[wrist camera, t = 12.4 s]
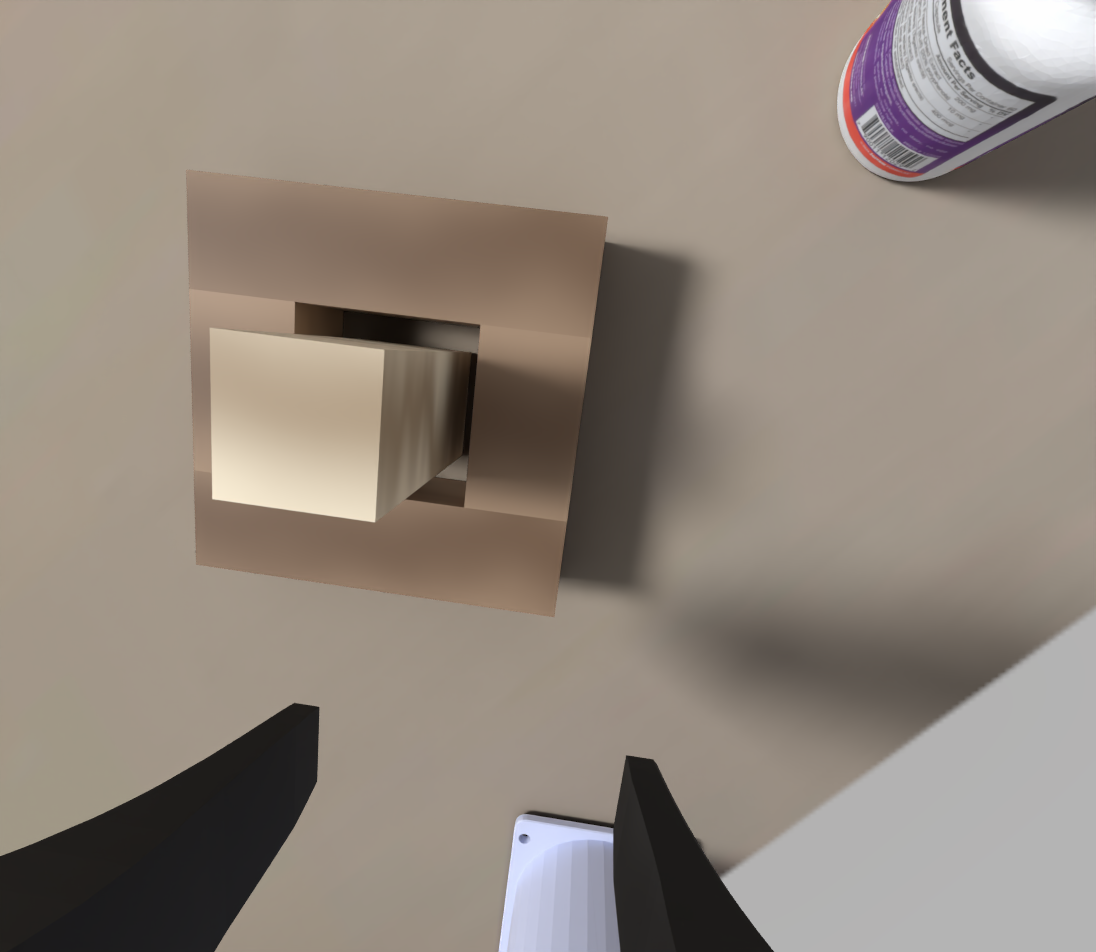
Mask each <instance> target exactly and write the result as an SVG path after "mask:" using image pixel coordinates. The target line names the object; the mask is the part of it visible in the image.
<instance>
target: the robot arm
mask: <svg viewBox="0 0 1096 952" xmlns="http://www.w3.org/2000/svg"><path fill="white" fill-rule="evenodd" d="M318 734H319V707H316V706H310V705H303V704H297V703H294V704H292V705H290V706H288V707H287V708H285V709H284V710H282V711H280V712H279V713H277V714H276V715H274V716H272V717H271V718H269V719H268V720H266V721H265V722H263V723H262V724H260V725H258V726H257V727H255V728H254V729H252V730H251V731H249V732H248V733H246V734H244V735H243V736H241V737H240V738H238V739H236V740H235V741H233V742H232V743H230V744H228V745H227V746H225V747H224V748H222V749H220V750H219V751H217V752H216V753H214V754H212V755H211V756H209V757H207V758H206V759H204V760H202V761H201V762H199V763H197V764H195V765H194V766H192V767H190V768H188V769H187V770H185V771H183V772H181V773H180V774H178V775H176V776H174V777H173V778H171V779H169V780H167V781H166V782H164V783H162V784H161V785H159V786H157V787H155V788H153V789H151V790H149V791H147V792H145V793H144V794H142V795H140V796H138V797H136V798H134V799H132V800H130V801H128V802H126V803H124V804H122V805H120V806H118V807H115V808H113V809H111V810H109V811H107V812H105V813H103V814H101V815H99V816H97V817H95V818H92V819H90V820H88V821H85V822H83V823H81V824H78V825H76V826H74V827H71V828H69V829H67V830H64V831H62V832H60V833H57V834H55V835H53V836H50V837H48V838H46V839H43V840H41V841H39V842H36V843H34V844H31V845H29V846H26V847H24V848H21V849H19V850H16V851H13V852H11V853H8V854H5V855H3V856H0V952H214V951H215V950H216V948H217V946H218V945H219V943H220V941H221V940H222V938H223V936H224V935H225V933H226V931H227V930H228V928H229V927H230V925H231V924H232V922H233V921H234V919H235V918H236V916H237V915H238V913H239V912H240V910H241V908H242V907H243V905H244V904H245V902H246V901H247V899H248V898H249V896H250V895H251V893H252V892H253V890H254V889H255V887H256V885H257V884H258V882H259V881H260V879H261V878H262V876H263V875H264V873H265V872H266V870H267V869H268V867H269V866H270V864H271V862H272V861H273V859H274V858H275V856H276V855H277V853H278V852H279V850H280V848H281V847H282V845H283V844H284V842H285V841H286V839H287V838H288V836H289V834H290V833H291V831H292V830H293V828H294V826H295V824H296V822H297V821H298V819H299V817H300V815H301V813H302V811H303V809H304V807H305V805H306V803H307V801H308V799H309V797H310V795H311V793H312V791H313V789H314V787H315V784H316V782H317V767H318ZM521 834H526V835H528V836H523V835H521ZM499 952H774V951H773V950H772V949H771V947H770V946H769V945H768V944H767V942H766V941H765V940H764V939H763V937H762V936H761V935H760V934H759V932H758V931H757V930H756V928H755V927H754V926H753V924H752V923H751V922H750V920H749V919H748V918H747V916H746V915H745V914H744V912H743V911H742V910H741V908H740V907H739V905H738V904H737V903H736V901H735V900H734V898H733V897H732V895H731V894H730V893H729V891H728V890H727V888H726V887H725V885H724V884H723V882H722V881H721V879H720V877H719V876H718V874H717V873H716V871H715V870H714V868H713V867H712V865H711V864H710V862H709V860H708V859H707V857H706V855H705V854H704V852H703V851H702V849H701V847H700V846H699V844H698V842H697V840H696V839H695V837H694V835H693V833H692V832H691V830H690V828H689V827H688V825H687V823H686V821H685V819H684V818H683V816H682V814H681V812H680V810H679V808H678V806H677V805H676V803H675V801H674V799H673V797H672V795H671V793H670V791H669V789H668V787H667V785H666V783H665V781H664V779H663V777H662V774H661V772H660V770H659V768H658V766H657V764H656V763H655V761H654V760H653V759H646V758H640V757H634V756H627V755H626V760H625V766H624V772H623V777H622V783H621V788H620V794H619V800H618V805H617V811H616V817H615V822H614V828H609V827H603V826H597V825H591V824H584V823H578V822H572V821H566V820H560V819H554V818H548V817H542V816H536V815H530V814H523V815H520V816H519V817H518V818H517V819H516V822H515V829H514V837H513V844H512V852H511V860H510V868H509V875H508V883H507V891H506V899H505V906H504V914H503V922H502V930H501V937H500V945H499Z"/></svg>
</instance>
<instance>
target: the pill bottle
mask: <svg viewBox="0 0 1096 952" xmlns="http://www.w3.org/2000/svg"><path fill="white" fill-rule="evenodd" d="M1095 97H1096V0H891V2H890V3H889V4H888V5H887V6H886V8H885V9H884V10H883V11H882V12H881V13H880V15H879V16H878V17H877V18H876V19H875V20H874V21H873V23H872V24H871V25H870V27H869V28H868V29H867V31H866V32H865V33H864V34H863V36H862V37H861V38H860V40H859V41H858V43H857V44H856V46H855V47H854V49H853V51H852V53H851V54H850V56H849V58H848V61H847V63H846V65H845V68H844V70H843V73H842V76H841V80H840V84H839V90H838V98H837V113H838V121H839V126H840V130H841V133H842V136H843V139H844V141H845V143H846V145H847V147H848V148H849V150H850V152H851V153H852V154H853V156H854V157H855V158H856V159H857V160H858V161H859V162H860V163H861V164H862V165H863V166H864V167H865V168H867V169H868V170H869V171H871V172H873V173H875V174H877V175H879V176H881V177H884V178H887V179H891V180H897V181H907V182H909V181H922V180H927V179H931V178H935V177H938V176H941V175H943V174H946V173H948V172H950V171H953V170H955V169H957V168H960V167H962V166H964V165H966V164H968V163H970V162H972V161H974V160H976V159H977V158H980V157H982V156H983V155H985V154H987V153H989V152H991V151H993V150H995V149H997V148H999V147H1000V146H1002V145H1004V144H1006V143H1008V142H1010V141H1012V140H1014V139H1016V138H1018V137H1020V136H1022V135H1023V134H1025V133H1027V132H1029V131H1031V130H1033V129H1035V128H1037V127H1039V126H1041V125H1043V124H1045V123H1047V122H1049V121H1050V120H1052V119H1054V118H1056V117H1058V116H1060V115H1062V114H1064V113H1066V112H1068V111H1070V110H1072V109H1074V108H1076V107H1078V106H1080V105H1082V104H1083V103H1085V102H1087V101H1089V100H1091V99H1093V98H1095Z"/></svg>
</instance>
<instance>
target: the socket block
mask: <svg viewBox="0 0 1096 952" xmlns="http://www.w3.org/2000/svg"><path fill="white" fill-rule="evenodd" d="M186 182H187V221H188V260H189V300H190V339H191V378H192V417H193V457H194V496H195V535H196V565H203V566H209V567H216V568H223V569H230V570H237V571H244V572H250V573H257V574H264V575H271V576H278V577H284V578H291V579H298V580H305V581H312V582H319V583H325V584H332V585H339V586H346V587H353V588H359V589H366V590H373V591H380V592H387V593H394V594H400V595H407V596H414V597H421V598H428V599H434V600H441V601H448V602H455V603H462V604H469V605H475V606H482V607H489V608H496V609H503V610H509V611H516V612H523V613H530V614H537V615H544V616H550V617H554V615H555V607H556V600H557V592H558V585H559V578H560V570H561V563H562V555H563V548H564V541H565V533H566V526H567V518H568V511H569V503H570V496H571V489H572V481H573V474H574V466H575V459H576V451H577V444H578V437H579V429H580V422H581V414H582V407H583V399H584V392H585V385H586V377H587V370H588V362H589V355H590V347H591V340H592V332H593V325H594V318H595V310H596V303H597V295H598V288H599V280H600V273H601V266H602V258H603V251H604V243H605V236H606V228H607V221H608V217H604V216H595V215H586V214H578V213H569V212H560V211H551V210H542V209H533V208H524V207H515V206H506V205H497V204H488V203H479V202H470V201H461V200H452V199H443V198H434V197H426V196H417V195H408V194H399V193H390V192H381V191H372V190H363V189H354V188H345V187H336V186H327V185H318V184H309V183H300V182H291V181H283V180H274V179H265V178H256V177H247V176H238V175H229V174H220V173H211V172H202V171H193V170H186ZM343 311H349V312H357V313H366V314H374V315H382V316H390V317H398V318H406V319H415V320H423V321H431V322H439V323H447V324H455V325H463V326H472V327H480V336H479V347H478V359H477V370H476V381H475V392H474V403H473V414H472V425H471V437H470V448H469V459H468V470H467V481H459V480H451V479H444V478H437V477H433V478H432V479H431V480H429V481H428V482H427V483H425V484H424V485H423V486H422V487H420V488H419V489H418V490H416V491H415V492H414V493H413V494H411V495H410V496H409V497H407V498H406V499H405V500H404V501H402V502H401V503H400V504H398V505H397V506H396V507H394V508H393V509H392V510H391V511H389V512H388V513H387V514H385V515H384V516H383V517H382V518H380V519H379V520H378V521H376V522H369V521H362V520H355V519H348V518H341V517H334V516H327V515H320V514H313V513H306V512H299V511H292V510H285V509H278V508H271V507H264V506H257V505H250V504H243V503H236V502H229V501H222V500H215V499H212V445H211V381H210V328H223V329H236V330H250V331H263V332H276V333H289V334H302V335H316V336H329V337H342V335H343Z"/></svg>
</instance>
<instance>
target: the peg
mask: <svg viewBox="0 0 1096 952" xmlns="http://www.w3.org/2000/svg"><path fill="white" fill-rule="evenodd" d="M470 362H471V352H463V351H455V350H447V349H439V348H431V347H424V346H416V345H408V344H400V343H392V342H384V341H376V340H368V339H355V338H342V337H329V336H316V335H302V334H289V333H276V332H263V331H250V330H236V329H223V328H210V381H211V445H212V499H215V500H222V501H229V502H236V503H243V504H250V505H257V506H264V507H271V508H278V509H285V510H292V511H299V512H306V513H313V514H320V515H327V516H334V517H341V518H348V519H355V520H362V521H369V522H376V521H378V520H379V519H380V518H382V517H383V516H384V515H385V514H387V513H388V512H389V511H391V510H392V509H393V508H394V507H396V506H397V505H398V504H400V503H401V502H402V501H404V500H405V499H406V498H407V497H409V496H410V495H411V494H413V493H414V492H415V491H416V490H418V489H419V488H420V487H422V486H423V485H424V484H425V483H427V482H428V481H429V480H431V479H432V478H433V477H435V476H436V475H437V474H438V473H440V472H441V471H442V470H444V469H445V468H446V467H447V466H449V465H450V464H451V463H453V462H454V461H455V460H456V459H458V458H459V457H460V456H462V452H463V441H464V429H465V418H466V407H467V396H468V385H469V373H470Z"/></svg>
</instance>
